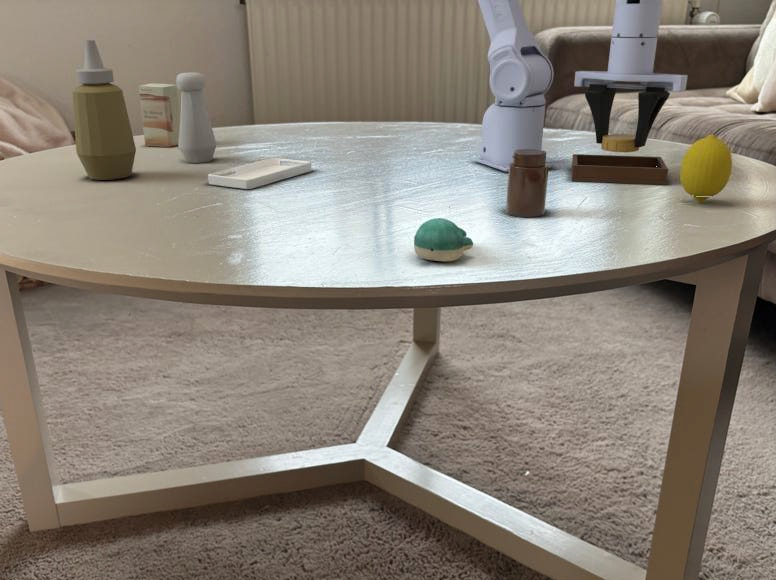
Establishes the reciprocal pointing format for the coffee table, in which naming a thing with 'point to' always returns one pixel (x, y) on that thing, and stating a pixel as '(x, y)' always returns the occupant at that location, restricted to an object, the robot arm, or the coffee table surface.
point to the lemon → (706, 168)
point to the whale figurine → (441, 240)
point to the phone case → (258, 173)
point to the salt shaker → (194, 120)
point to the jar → (527, 183)
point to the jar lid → (619, 143)
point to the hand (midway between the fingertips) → (620, 144)
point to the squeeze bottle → (101, 121)
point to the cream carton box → (160, 114)
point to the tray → (619, 169)
